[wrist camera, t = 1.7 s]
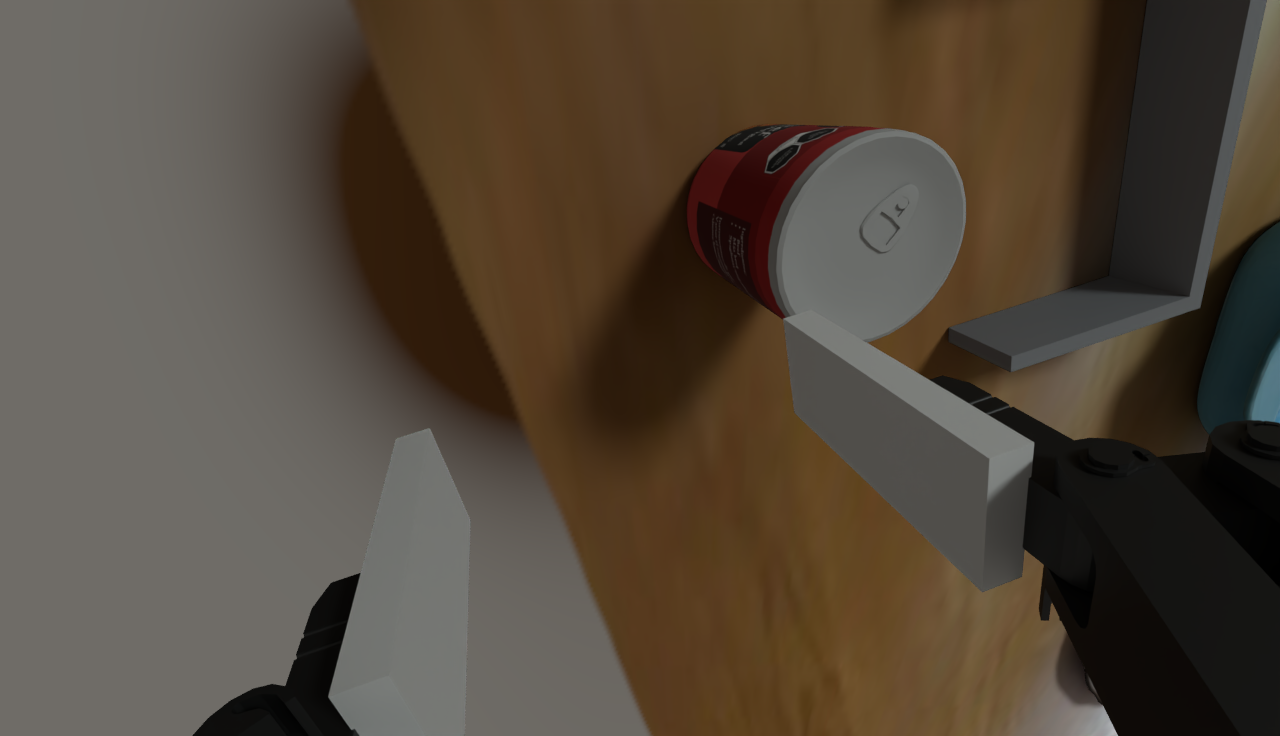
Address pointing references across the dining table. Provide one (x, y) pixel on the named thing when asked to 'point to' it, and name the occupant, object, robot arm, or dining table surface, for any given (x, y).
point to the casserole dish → (1246, 343)
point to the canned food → (830, 221)
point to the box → (1150, 189)
